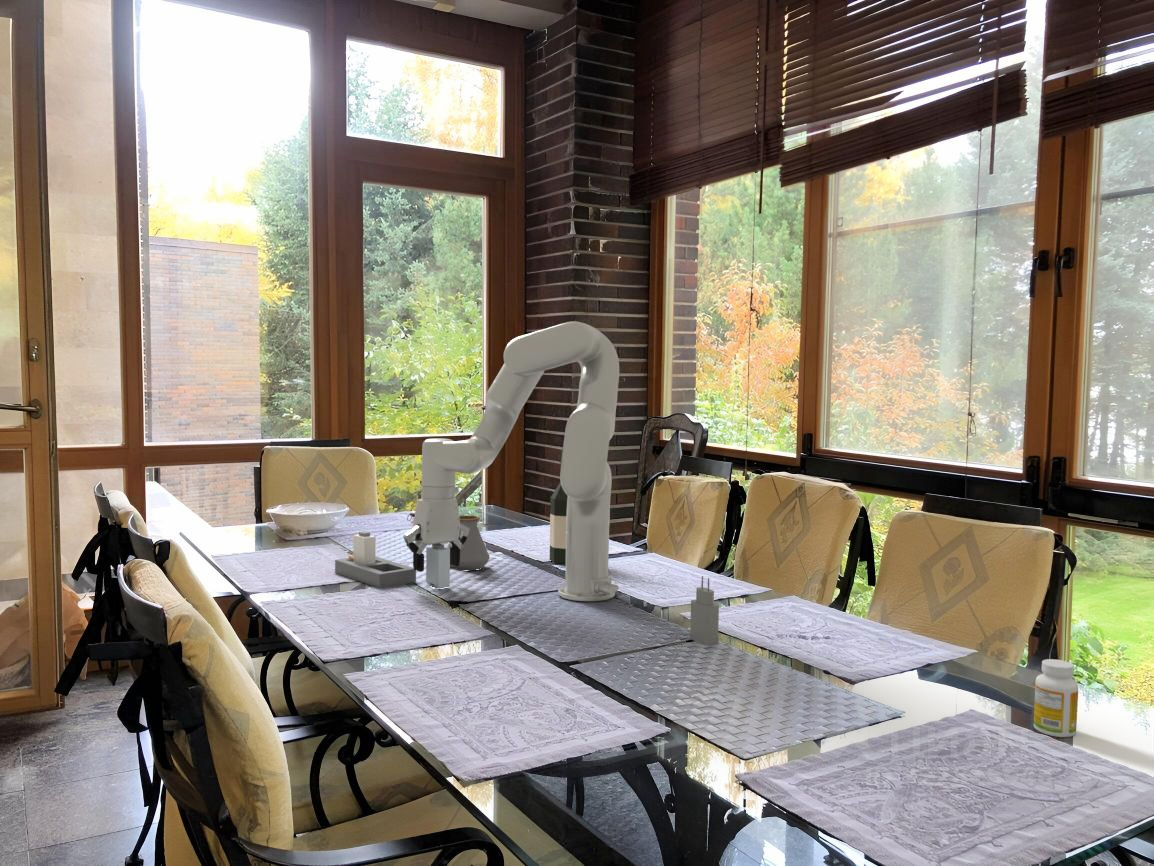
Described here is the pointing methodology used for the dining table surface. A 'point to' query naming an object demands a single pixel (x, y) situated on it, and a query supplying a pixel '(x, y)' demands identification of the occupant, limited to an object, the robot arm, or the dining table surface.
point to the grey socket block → (376, 572)
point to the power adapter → (704, 617)
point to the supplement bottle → (1056, 699)
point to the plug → (438, 566)
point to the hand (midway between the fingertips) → (436, 567)
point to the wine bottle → (558, 524)
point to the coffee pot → (470, 546)
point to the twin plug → (364, 548)
